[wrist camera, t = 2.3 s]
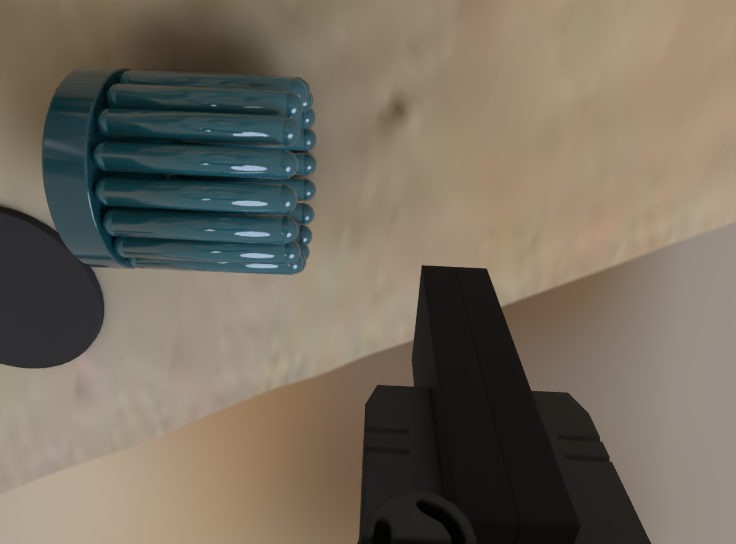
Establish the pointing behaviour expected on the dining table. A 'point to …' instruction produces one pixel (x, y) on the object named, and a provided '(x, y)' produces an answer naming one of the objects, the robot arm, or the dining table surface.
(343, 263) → the dining table surface
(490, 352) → the robot arm
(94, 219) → the teal ridged cylinder
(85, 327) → the coaster
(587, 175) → the dining table surface
